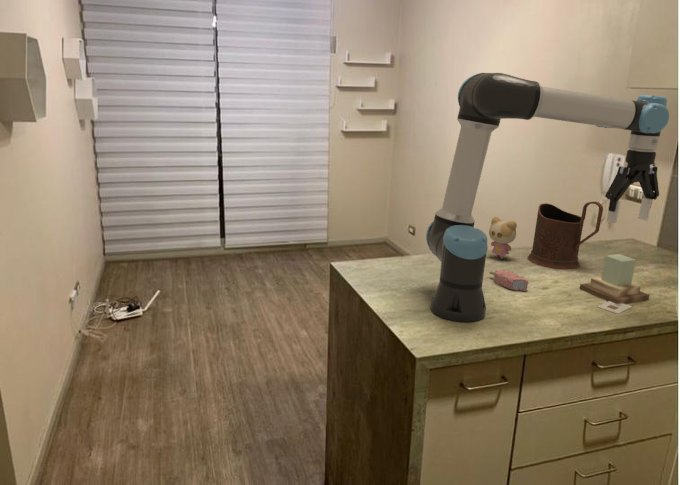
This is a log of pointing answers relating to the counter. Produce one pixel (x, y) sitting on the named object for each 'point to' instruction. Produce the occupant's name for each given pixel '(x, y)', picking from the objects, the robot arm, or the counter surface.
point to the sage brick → (618, 270)
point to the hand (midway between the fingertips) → (627, 220)
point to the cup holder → (559, 237)
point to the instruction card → (614, 307)
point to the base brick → (614, 291)
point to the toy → (502, 236)
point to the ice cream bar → (510, 280)
